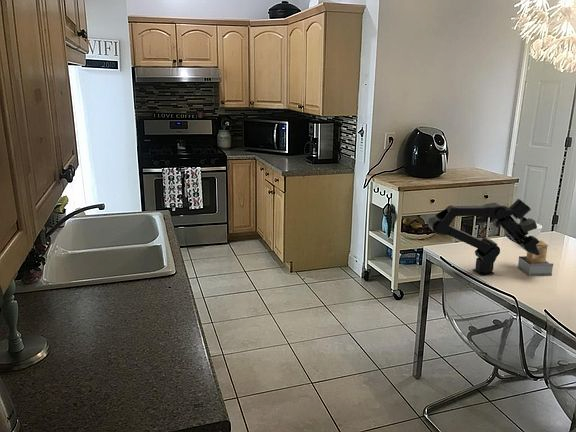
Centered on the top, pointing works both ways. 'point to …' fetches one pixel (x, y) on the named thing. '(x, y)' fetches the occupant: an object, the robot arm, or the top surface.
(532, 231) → the cup
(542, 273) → the large crate
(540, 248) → the small crate
